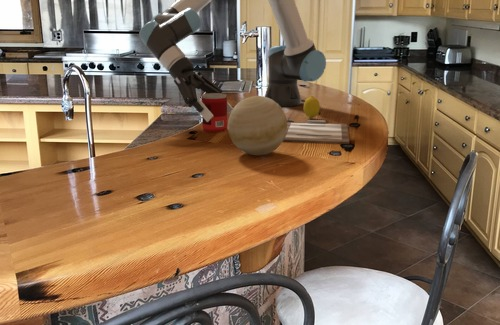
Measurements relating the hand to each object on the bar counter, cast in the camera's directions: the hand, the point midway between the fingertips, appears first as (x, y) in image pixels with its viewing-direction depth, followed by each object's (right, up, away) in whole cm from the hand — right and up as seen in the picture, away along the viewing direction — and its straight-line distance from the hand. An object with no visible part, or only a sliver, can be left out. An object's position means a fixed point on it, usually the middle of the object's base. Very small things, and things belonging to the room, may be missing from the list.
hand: (220, 115), depth 161 cm
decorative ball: (+11, -13, -27) cm, 32 cm away
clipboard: (+29, -6, -2) cm, 29 cm away
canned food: (-2, -4, +2) cm, 5 cm away
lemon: (+30, 0, +20) cm, 36 cm away
